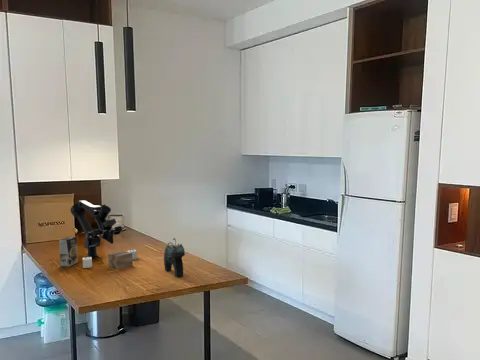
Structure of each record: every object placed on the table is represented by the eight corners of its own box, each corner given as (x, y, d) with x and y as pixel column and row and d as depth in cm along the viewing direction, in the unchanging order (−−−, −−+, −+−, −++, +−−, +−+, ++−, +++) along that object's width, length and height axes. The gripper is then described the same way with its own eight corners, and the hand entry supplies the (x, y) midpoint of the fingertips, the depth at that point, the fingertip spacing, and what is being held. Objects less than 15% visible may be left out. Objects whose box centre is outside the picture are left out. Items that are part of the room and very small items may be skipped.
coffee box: (69, 266, 261) (68, 239, 260) (60, 266, 263) (58, 239, 261) (78, 262, 270) (77, 236, 269) (68, 262, 272) (67, 236, 270)
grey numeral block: (127, 258, 278) (127, 250, 278) (135, 257, 280) (135, 249, 280) (128, 260, 274) (128, 251, 273) (136, 259, 276) (136, 251, 275)
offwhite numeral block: (82, 266, 262) (82, 257, 262) (91, 265, 264) (91, 256, 264) (83, 268, 258) (82, 259, 257) (92, 267, 259) (91, 258, 259)
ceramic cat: (186, 277, 235) (185, 240, 234) (175, 279, 232) (174, 241, 230) (171, 268, 252) (170, 234, 250) (160, 270, 249) (159, 235, 247)
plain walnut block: (108, 266, 261) (108, 253, 261) (123, 262, 268) (122, 250, 268) (117, 269, 254) (117, 256, 254) (132, 265, 261) (132, 253, 261)
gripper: (92, 216, 261) (102, 238, 255) (120, 212, 275) (130, 232, 268) (86, 228, 268) (96, 249, 261) (114, 223, 281) (124, 243, 274)
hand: (112, 243), depth 266 cm, fingers closed
